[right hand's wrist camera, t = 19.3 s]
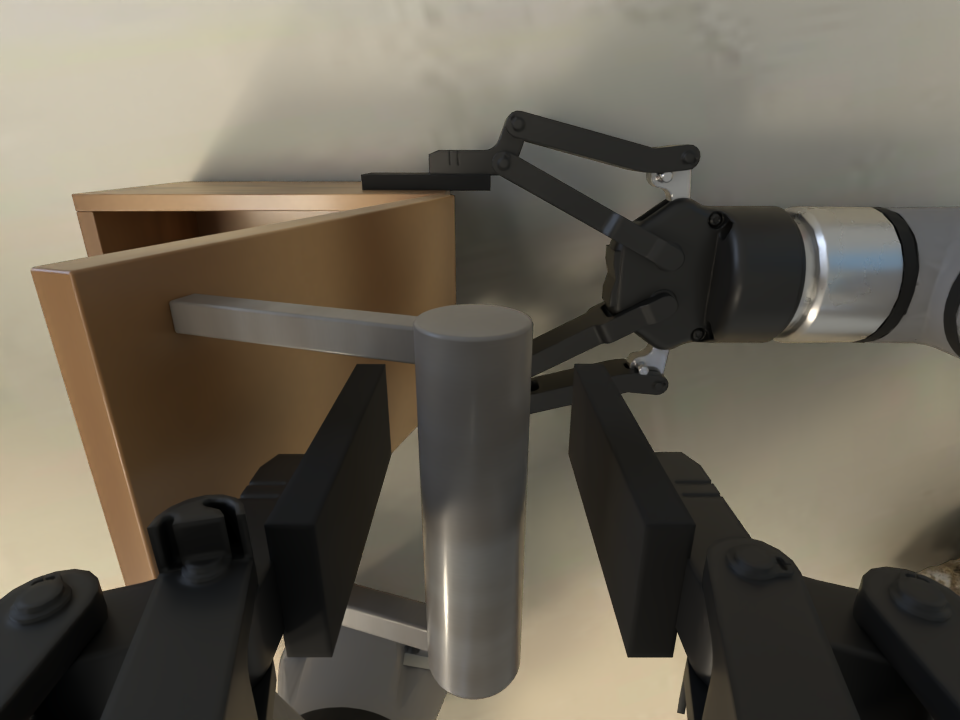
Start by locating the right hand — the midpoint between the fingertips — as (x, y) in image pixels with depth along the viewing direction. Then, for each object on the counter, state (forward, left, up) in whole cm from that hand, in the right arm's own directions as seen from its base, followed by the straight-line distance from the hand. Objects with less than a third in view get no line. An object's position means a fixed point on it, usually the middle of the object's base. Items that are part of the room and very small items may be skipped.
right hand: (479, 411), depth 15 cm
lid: (-3, +4, -4) cm, 7 cm away
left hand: (-4, +5, -17) cm, 18 cm away
